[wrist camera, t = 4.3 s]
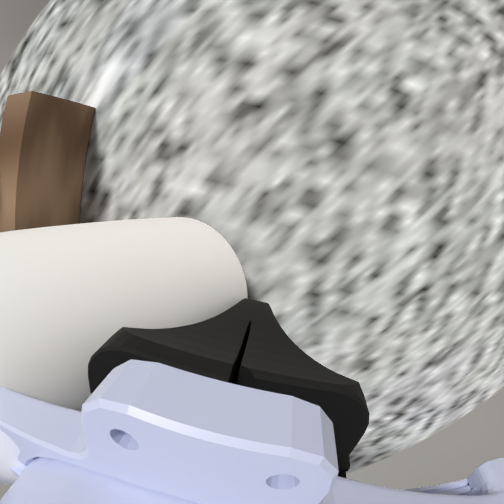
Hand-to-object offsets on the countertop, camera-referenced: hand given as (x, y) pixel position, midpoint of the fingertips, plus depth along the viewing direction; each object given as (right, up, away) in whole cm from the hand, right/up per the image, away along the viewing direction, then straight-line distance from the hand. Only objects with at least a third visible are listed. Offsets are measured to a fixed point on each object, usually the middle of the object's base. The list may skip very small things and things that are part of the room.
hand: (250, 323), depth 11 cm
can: (-3, +1, +2) cm, 4 cm away
